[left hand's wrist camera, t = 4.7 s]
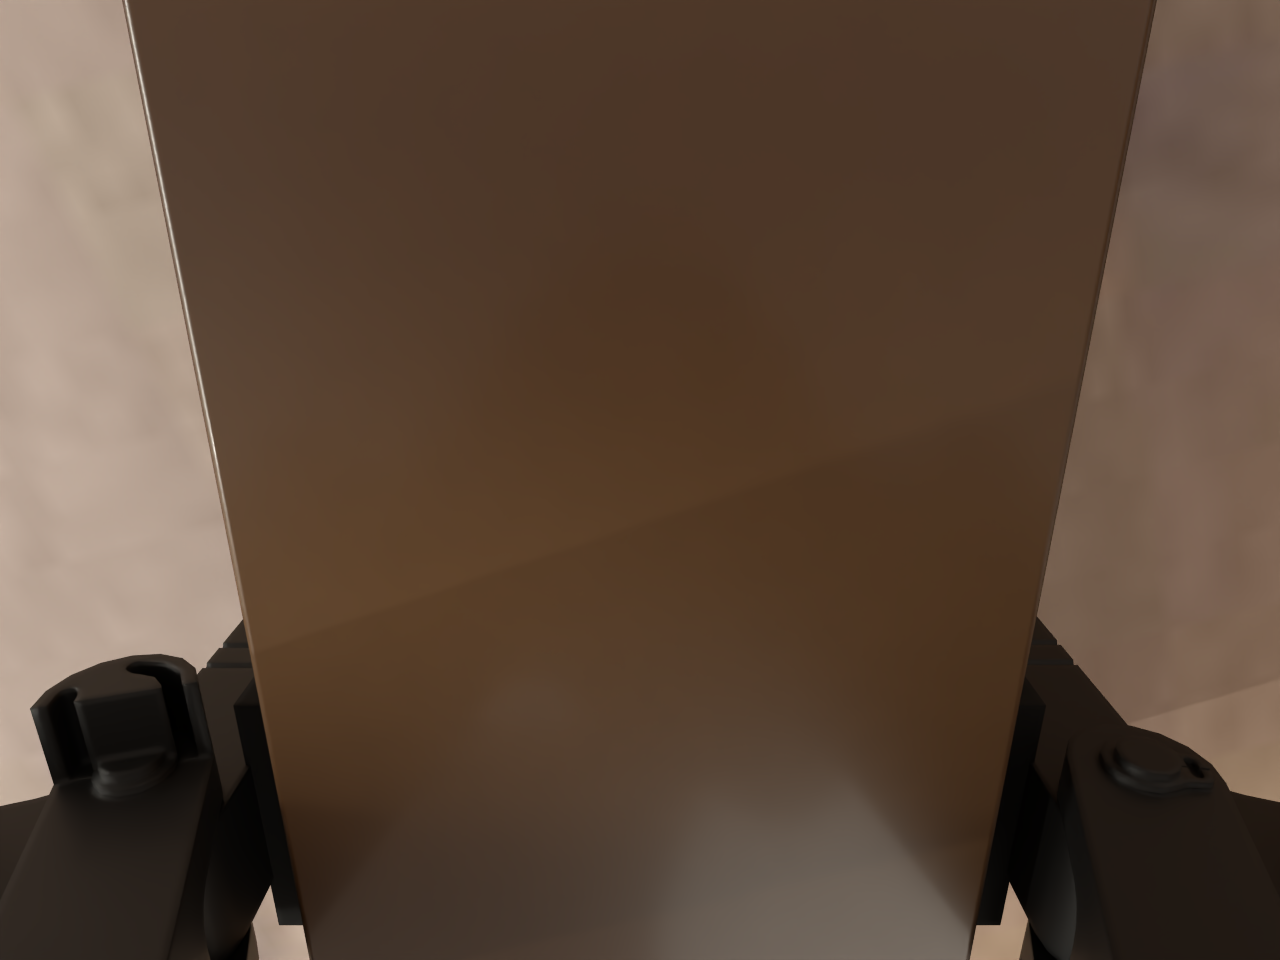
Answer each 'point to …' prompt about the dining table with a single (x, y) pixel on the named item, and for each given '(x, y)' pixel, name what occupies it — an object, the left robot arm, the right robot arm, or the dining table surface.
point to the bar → (639, 444)
